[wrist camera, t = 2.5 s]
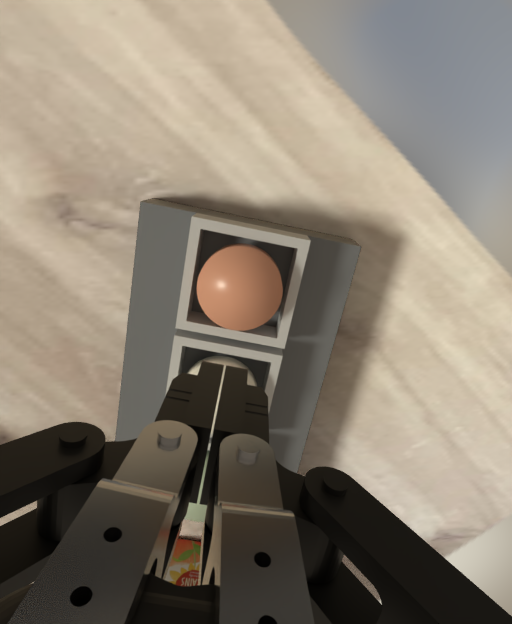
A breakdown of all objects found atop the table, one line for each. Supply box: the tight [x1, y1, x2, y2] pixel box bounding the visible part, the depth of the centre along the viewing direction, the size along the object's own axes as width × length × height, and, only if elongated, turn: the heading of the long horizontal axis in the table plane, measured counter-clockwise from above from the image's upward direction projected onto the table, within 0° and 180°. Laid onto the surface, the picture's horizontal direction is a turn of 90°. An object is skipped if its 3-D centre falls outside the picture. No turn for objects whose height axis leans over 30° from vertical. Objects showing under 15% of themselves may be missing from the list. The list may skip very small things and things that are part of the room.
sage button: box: [185, 450, 209, 522], centre depth 30 cm, size 5×5×2 cm
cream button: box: [187, 356, 257, 434], centre depth 27 cm, size 5×5×2 cm
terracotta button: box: [197, 243, 283, 331], centre depth 25 cm, size 5×5×2 cm
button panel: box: [115, 198, 361, 520], centre depth 30 cm, size 22×14×5 cm, turn 169°
